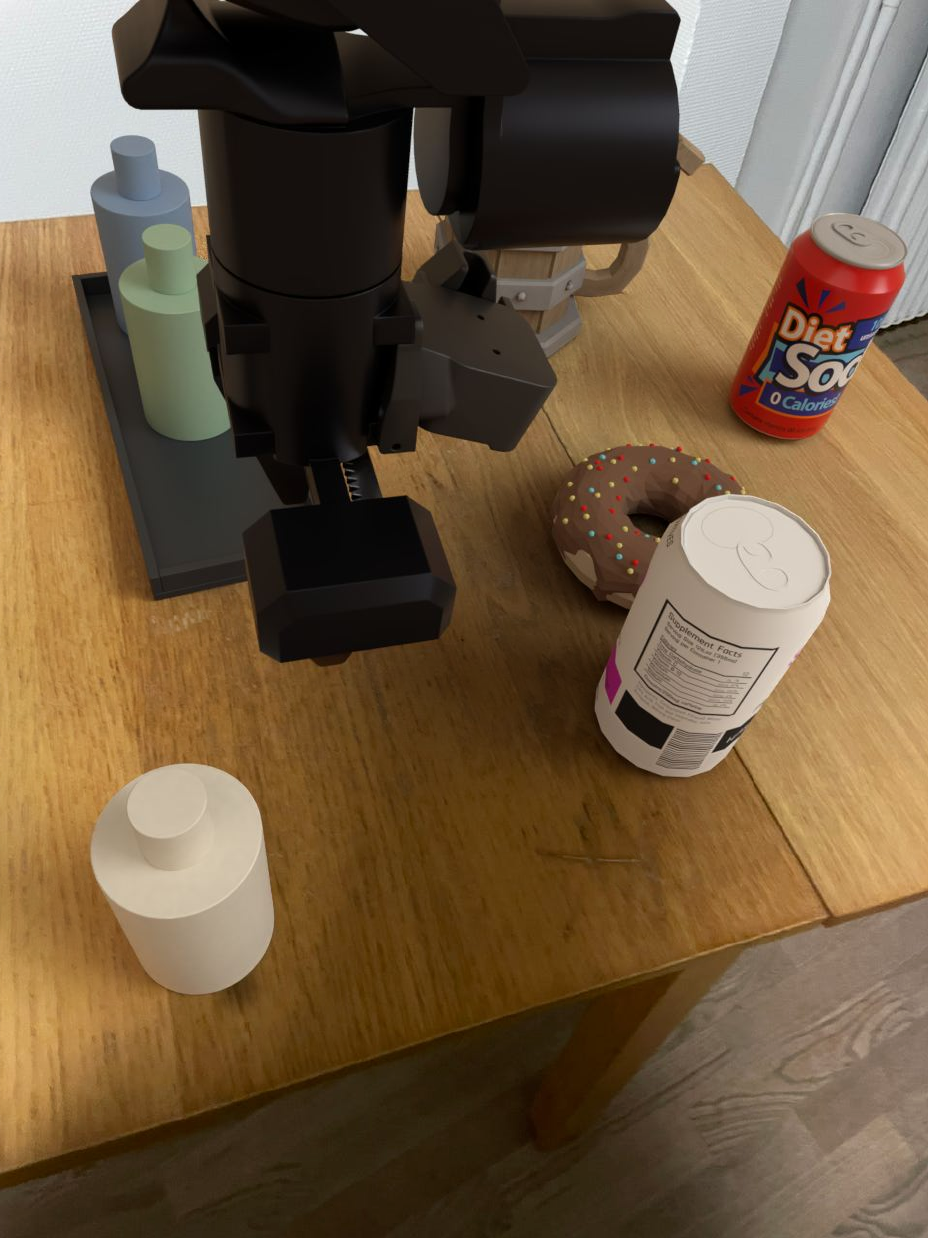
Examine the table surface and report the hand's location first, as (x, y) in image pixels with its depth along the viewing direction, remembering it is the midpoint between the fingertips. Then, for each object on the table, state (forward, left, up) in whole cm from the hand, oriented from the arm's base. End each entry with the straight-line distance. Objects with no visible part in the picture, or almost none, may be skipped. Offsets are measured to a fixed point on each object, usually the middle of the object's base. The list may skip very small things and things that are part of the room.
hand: (311, 576), depth 40 cm
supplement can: (+19, -6, -13) cm, 24 cm away
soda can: (+42, +16, -13) cm, 47 cm away
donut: (+25, +6, -13) cm, 29 cm away
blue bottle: (-1, +38, -13) cm, 40 cm away
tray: (-1, +27, -13) cm, 30 cm away
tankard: (+29, +32, -13) cm, 46 cm away
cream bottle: (-8, -9, -13) cm, 18 cm away
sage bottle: (-1, +27, -13) cm, 30 cm away
